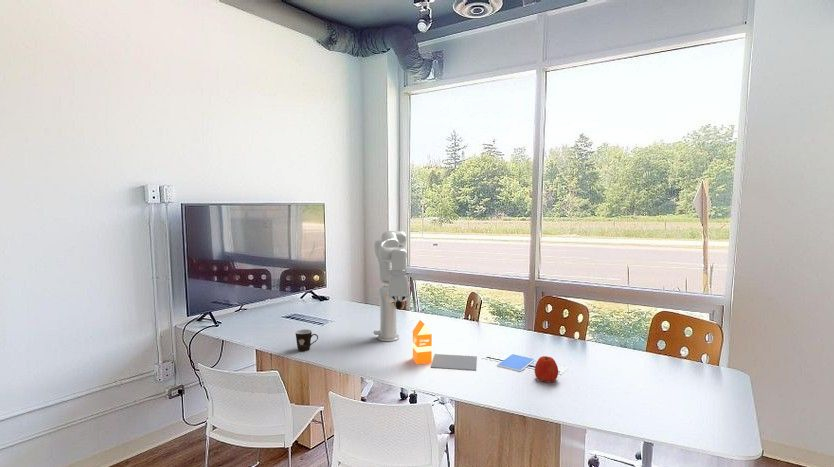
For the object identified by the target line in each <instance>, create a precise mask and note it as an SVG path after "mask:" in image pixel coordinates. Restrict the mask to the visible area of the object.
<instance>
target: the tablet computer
mask: <svg viewBox="0 0 834 467" xmlns="http://www.w3.org/2000/svg"><path fill="white" fill-rule="evenodd" d="M534 360H535V359H534V358H531V357H526V356H522V355H519V354H511V355H509V356H507V357H506V358H504V359H503V360H502V361H500V362H499V363H497V364H496V366H497V367H498V368H502V369H507V370H511V371H513V372H514V371H515V372H519V373H520V372H522V371H524V370H525V369H526V368H527V367H528V366H529V365H530V364H533V362H535V361H534Z"/></svg>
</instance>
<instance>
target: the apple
mask: <svg viewBox="0 0 834 467" xmlns="http://www.w3.org/2000/svg"><path fill="white" fill-rule="evenodd" d="M534 376H535V377H536V378H537V380H539V381H541V382H544V383H553V382H555V381H557V379H558V376H559V367H558V365H557V362H556V361H555V359H554V358H553V357H552V356H547V355H543V356H540V357H539V358H538V359H537V361H536V363H535V366H534Z"/></svg>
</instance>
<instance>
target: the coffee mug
mask: <svg viewBox="0 0 834 467" xmlns="http://www.w3.org/2000/svg"><path fill="white" fill-rule="evenodd" d="M312 331H313V330H311V329H307V328H306V329H299V330H298V329H297V330H296V331H295V339H296V346H297V351H298V352H300V353H302V352H309V351H310V349H311V345H313V344H314V343H316V342H317V340H319V336H318V334H316V333H313V334H312ZM313 336H316V339H315V341H313V342H312V341H311V340H312V337H313Z"/></svg>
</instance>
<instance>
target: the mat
mask: <svg viewBox="0 0 834 467" xmlns="http://www.w3.org/2000/svg"><path fill="white" fill-rule="evenodd" d="M432 358H433V359H432V363H430V368H432V369H448V370H458V371H459V370H461V371H475V372H476V371H477V365H478V364H477V363H478V360H477V359H478V356H475V355H461V354H460V355H458V354H457V355H456V354H443V353H442V354H439V353H435V354H434V355H433V357H432Z"/></svg>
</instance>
